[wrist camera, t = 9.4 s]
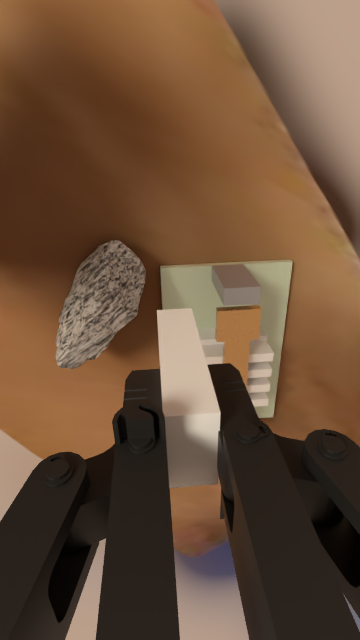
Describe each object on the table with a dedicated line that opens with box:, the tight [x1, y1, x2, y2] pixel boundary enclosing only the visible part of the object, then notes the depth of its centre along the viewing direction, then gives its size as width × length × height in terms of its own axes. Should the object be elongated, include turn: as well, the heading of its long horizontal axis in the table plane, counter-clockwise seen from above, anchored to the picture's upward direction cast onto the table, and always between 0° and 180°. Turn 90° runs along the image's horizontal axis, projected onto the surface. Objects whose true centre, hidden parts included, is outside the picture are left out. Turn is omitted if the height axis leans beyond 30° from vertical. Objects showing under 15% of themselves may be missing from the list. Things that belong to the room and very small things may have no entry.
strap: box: [215, 305, 261, 388], centre depth 44 cm, size 21×5×1 cm, turn 1°
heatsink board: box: [160, 259, 293, 418], centre depth 46 cm, size 17×26×9 cm, turn 1°
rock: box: [56, 240, 146, 369], centre depth 41 cm, size 16×8×10 cm, turn 131°
